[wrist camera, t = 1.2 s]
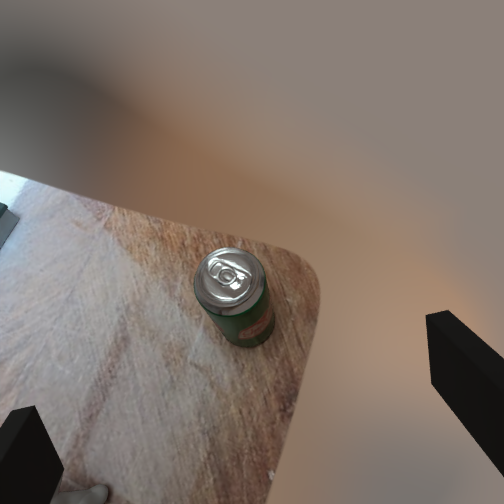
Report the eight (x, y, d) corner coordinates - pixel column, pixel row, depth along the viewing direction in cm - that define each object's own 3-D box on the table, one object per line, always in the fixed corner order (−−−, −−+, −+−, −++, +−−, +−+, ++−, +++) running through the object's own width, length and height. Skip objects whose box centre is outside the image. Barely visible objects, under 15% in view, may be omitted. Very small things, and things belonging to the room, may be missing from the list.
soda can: (253, 359, 38) (233, 327, 27) (209, 327, 40) (174, 285, 29) (285, 314, 40) (279, 266, 29) (242, 285, 41) (220, 228, 30)
